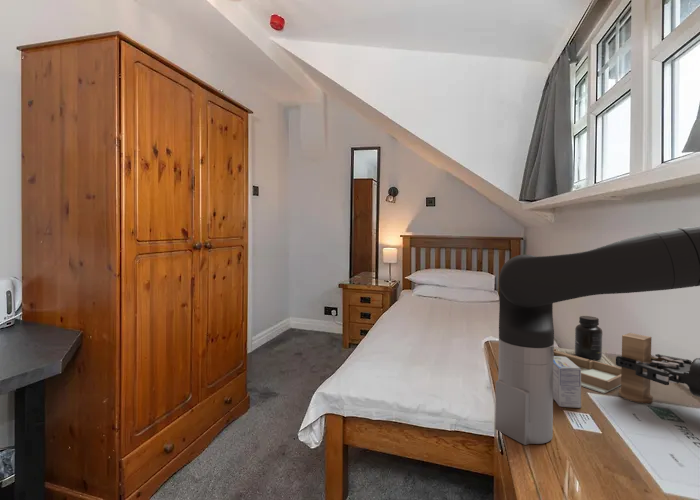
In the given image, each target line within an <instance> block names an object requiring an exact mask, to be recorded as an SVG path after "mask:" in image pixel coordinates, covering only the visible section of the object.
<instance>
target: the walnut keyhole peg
mask: <svg viewBox="0 0 700 500" xmlns="http://www.w3.org/2000/svg"><path fill="white" fill-rule="evenodd" d="M651 355H652V336H649V335H643V334H638V333H633V332H629V333H625V334H622V337H621V356H622V357H626V358H630V359H634V360H640V361H645V362H650V361H651ZM620 368H621V386H620V388H619V389H618V396H619V397H621V398H622V399H625V400H627V401H630V402H632V403H633V402H634V403H638V404H652V403H653V402H654V397H653V395H651V380H649V379H646V378H643V377H640V376H638V375H635V372H636V371H635V370H631V369H628V368H624V367H620ZM643 370H645V371H647V370H646V369H644V368H643Z"/></svg>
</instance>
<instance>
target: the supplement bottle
mask: <svg viewBox="0 0 700 500" xmlns="http://www.w3.org/2000/svg"><path fill="white" fill-rule="evenodd" d="M599 322H600V321H599V318H598V317H595V316H591V315H579V322H578V323H579V324H578V325H576V326H575V328H574V329H575V330H574V339H575V340H574V354H575V356H578V357H581V358H585V359H589V360H590V361H591V360H593V361H599V360H601V359H602V358H603V330H602V328H601V327H599V324H600V323H599Z"/></svg>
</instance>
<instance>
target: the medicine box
mask: <svg viewBox="0 0 700 500" xmlns="http://www.w3.org/2000/svg"><path fill="white" fill-rule="evenodd" d="M553 401H555V403H556V404H557V405H558V407H562V408H572V409H573V408H574V409H575V408H576V409H581V408H582V386H581V369H580V368H579V367H578V366H577V365H575V364H574V363H573V362H572V361H571V360H569V359H568V358H567V357H562V356H554V361H553Z"/></svg>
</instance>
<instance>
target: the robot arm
mask: <svg viewBox="0 0 700 500" xmlns="http://www.w3.org/2000/svg"><path fill="white" fill-rule="evenodd" d="M499 272H500V273H499V277H498V288H499V313H498V373H497V374H498V379H497V380H496V381H495V412H494V413H495V414H494V415H495V419H494V420H495V422H494V426H495V427H494V428H495V430H496V431H498V432H500V433H501V434H503V435H505V436H507V437H509V438H511V439H513V440H514V441H516V442H518V443H519V444H522V445H524V446H527V445H529V444H531V445H532V444H536V445H539V444H541V445H542V444H545V443H548V442H550V441H551V440H552V439H553V432H554V429H553V427H554V425H553V424H554V399H553V361H554V349H555V346H554V343H555V328H554V315H553V308H554V307H553V304H555V303H560V302H564V301H569V300H575V299H579V298H583V297H589V296H590V297H591V296H599V295H615V294H616V295H617V294H631V293H643V292H645V293H646V292H655V291H666V290H667V291H669V290H676V289H685V288H692V287H700V225H697V226H695V225H694V226H686V227H678V228H675V229H674V228H673V229H668V230H663V231H656V232H652V233H645V234H642V235H637V236H633V237H629V238H626V239H622V240H619V241H618V240H617V241H616V242H612V243H610V244H609V243H608V244H606V245H602V246H600V247H597V248H593V249H590V250H586V251H582V252H581V251H580V252H573V253H567V254H566V253H565V254H556V255H543V256H541V255H539V256H536V255H532V254H519V255H514V256H513V257H511V258H510V259H508V260H507V261H506V262H505V263H504V264H503V265H502V267H501V269H500V271H499ZM615 365H616V367H619V368H621V367H624V368H628V369H631V370H635V371H636V372H635V375H638V376H640V377H643V378H646V379H649V380H650V381H652V382H655V383H659V384H661V385H663V386H670V383H672V384H683V385H686V386H687V387H688V390H689V391H690V393H691V395H692V396H695V397H698V398H700V357H696V358H694V359H693V360H691V359H687V358H680V357H675V356H669V355H663V354H660V353H657V354H655V355H653V354H651V361H650V362H645V361H640V360H634V359H630V358H626V357H622V355H617V356H615ZM643 368H644V369H646V370H647V371H645V370H643Z"/></svg>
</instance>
